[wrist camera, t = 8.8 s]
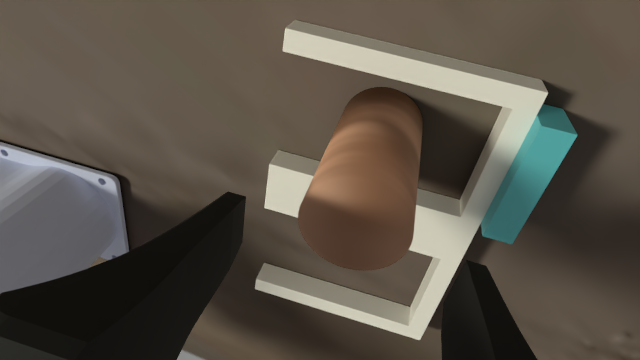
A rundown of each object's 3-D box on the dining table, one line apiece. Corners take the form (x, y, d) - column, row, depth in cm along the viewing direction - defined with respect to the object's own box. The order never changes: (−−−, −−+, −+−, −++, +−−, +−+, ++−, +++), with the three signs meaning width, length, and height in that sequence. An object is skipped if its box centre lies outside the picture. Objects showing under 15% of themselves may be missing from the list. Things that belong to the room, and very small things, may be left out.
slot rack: (262, 272, 29) (249, 300, 27) (295, 19, 19) (278, 34, 17) (441, 327, 28) (441, 361, 26) (574, 87, 18) (591, 112, 16)
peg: (335, 149, 22) (291, 252, 16) (350, 78, 20) (306, 164, 14) (409, 169, 22) (395, 282, 16) (434, 99, 20) (429, 198, 13)
